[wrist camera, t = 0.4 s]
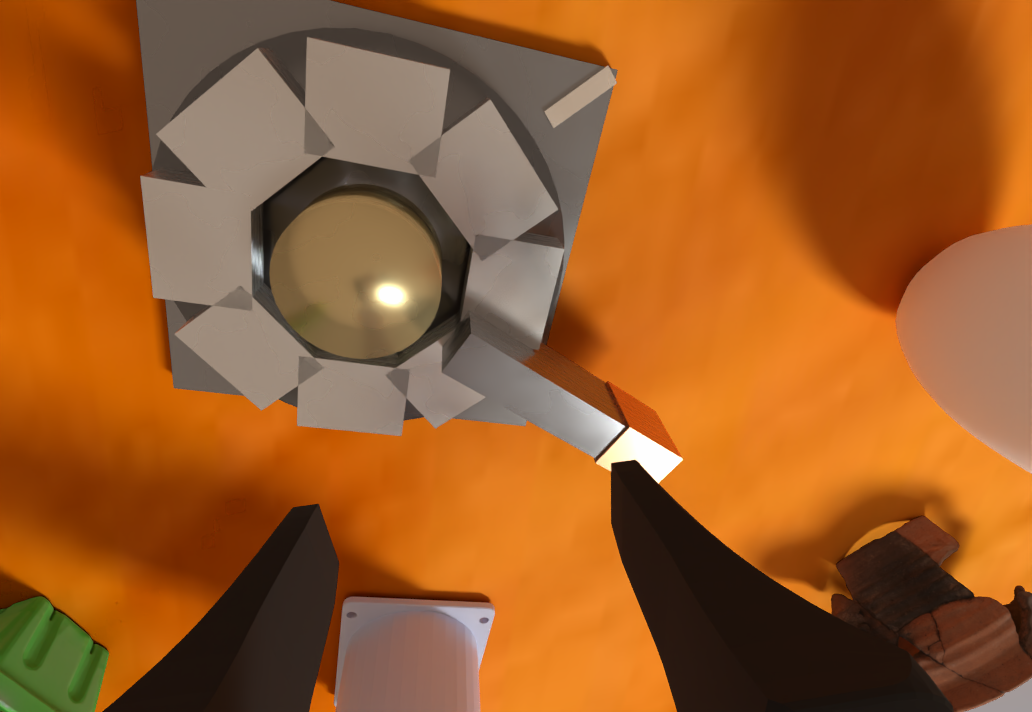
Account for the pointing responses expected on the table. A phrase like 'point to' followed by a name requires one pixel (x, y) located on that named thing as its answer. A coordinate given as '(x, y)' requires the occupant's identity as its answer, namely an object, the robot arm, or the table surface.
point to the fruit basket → (47, 661)
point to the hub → (371, 173)
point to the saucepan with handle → (461, 192)
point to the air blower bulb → (976, 337)
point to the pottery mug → (937, 615)
